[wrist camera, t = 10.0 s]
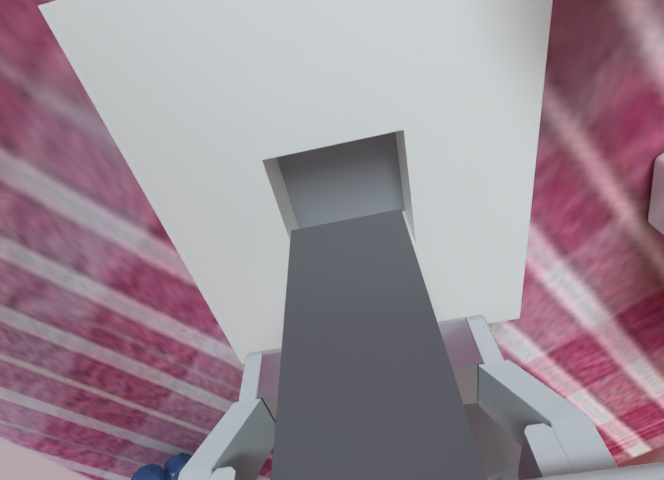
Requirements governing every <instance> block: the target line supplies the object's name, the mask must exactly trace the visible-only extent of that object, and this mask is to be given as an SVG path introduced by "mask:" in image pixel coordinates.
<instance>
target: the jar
mask: <svg viewBox="0 0 664 480" xmlns="http://www.w3.org/2000/svg"><path fill="white" fill-rule="evenodd" d="M648 222H649V223H650V224H651V225H652V226H653V227H654V228H656V229H657V230H658V231H659V232H660V233H662V234H663V235H664V152H663V153H662V154H660V155H659V156H657V157H656V159H655V162H654V171H653V180H652V188H651V197H650V205H649V213H648Z"/></svg>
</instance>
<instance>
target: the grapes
mask: <svg viewBox="0 0 664 480" xmlns="http://www.w3.org/2000/svg"><path fill="white" fill-rule="evenodd" d="M189 460H190V457H189V456H188V455H185V454H180V455H176V456H174V457H172V458H171V459H170V460H169V461H168V462H166V464H165V466H164V468H163V469H162V468H161V467H160V466H159V465H156V464H149V465H146V466H143V467H141V468H140V469H139V470H138V471H136V472H135V473H134V475H133V477H132V479H131V480H178V477H179V473H180V471H181V470H182V469H183V467H184V466H185V465H186V463H187V462H188V461H189Z"/></svg>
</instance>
